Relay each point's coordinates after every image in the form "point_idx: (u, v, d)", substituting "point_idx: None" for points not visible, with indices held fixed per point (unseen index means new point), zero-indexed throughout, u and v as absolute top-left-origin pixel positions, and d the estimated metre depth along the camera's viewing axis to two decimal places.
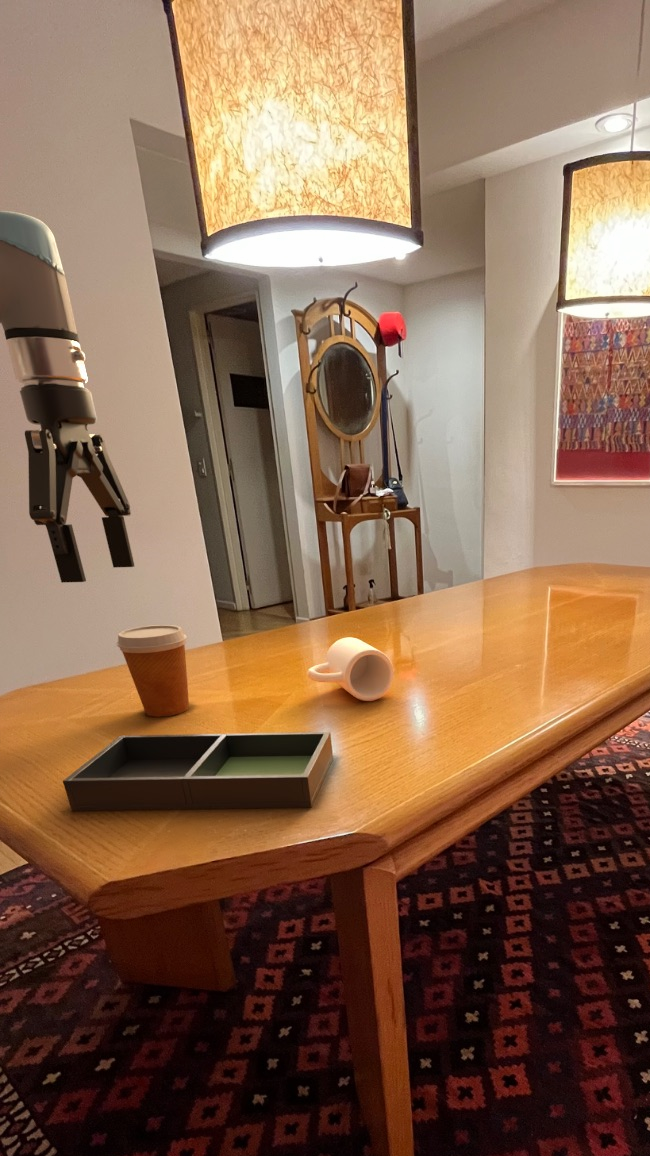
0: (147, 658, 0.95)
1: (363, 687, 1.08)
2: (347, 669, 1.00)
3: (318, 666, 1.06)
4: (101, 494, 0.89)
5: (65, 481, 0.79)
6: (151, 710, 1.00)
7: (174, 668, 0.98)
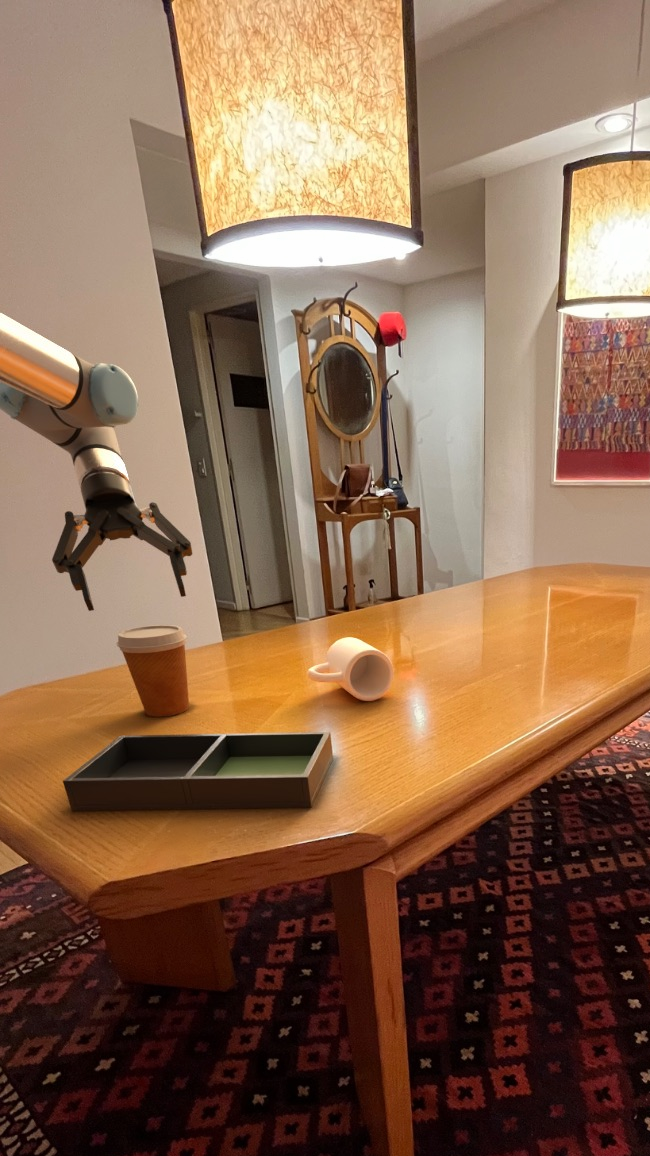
0: (147, 658, 0.95)
1: (363, 686, 1.08)
2: (347, 669, 1.00)
3: (318, 666, 1.06)
4: (87, 552, 1.05)
5: None
6: (151, 710, 1.00)
7: (174, 668, 0.98)
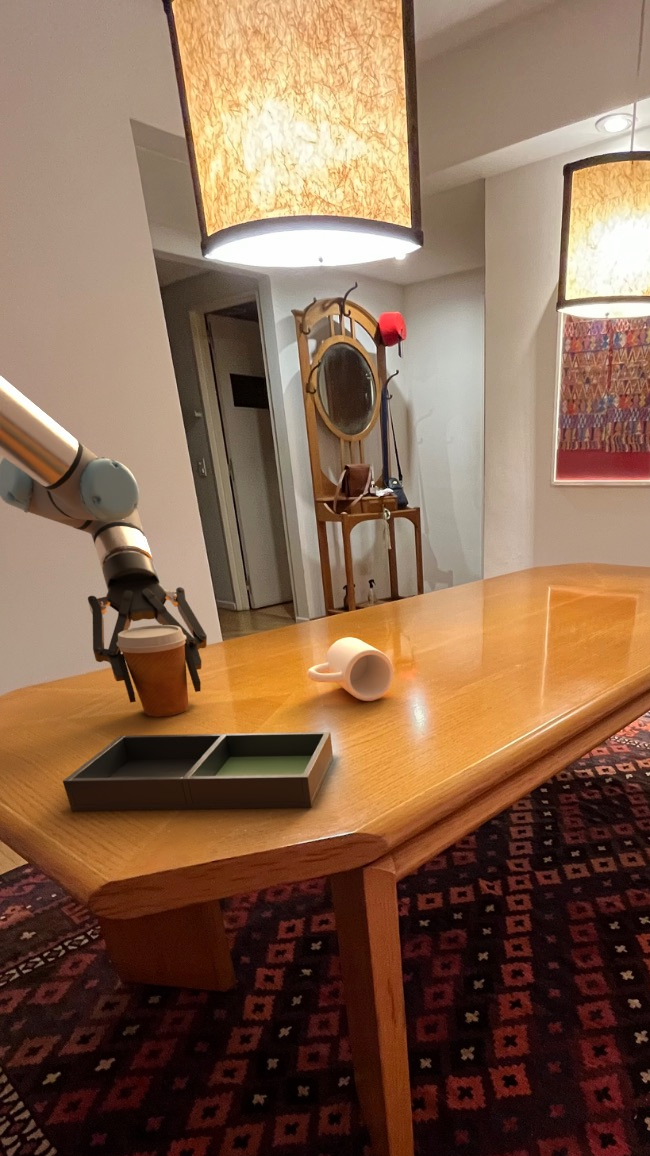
0: (146, 658, 0.95)
1: (363, 687, 1.08)
2: (347, 669, 1.00)
3: (318, 666, 1.06)
4: None
5: None
6: (150, 710, 1.00)
7: (174, 669, 0.98)
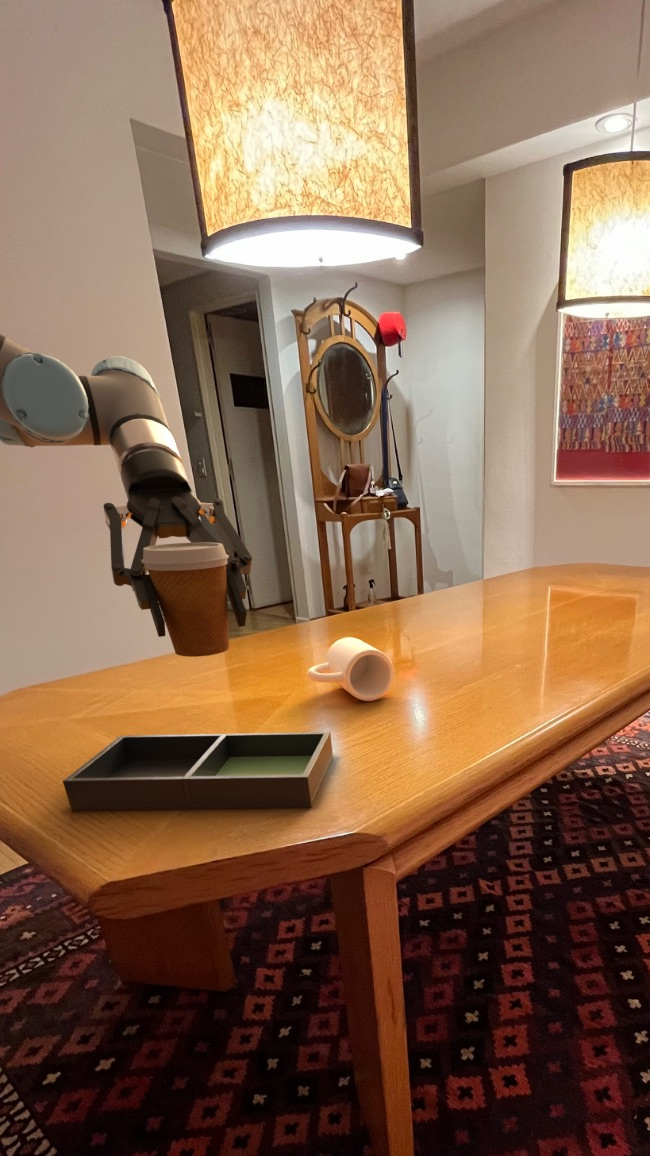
0: (181, 578, 0.74)
1: (363, 686, 1.08)
2: (347, 669, 1.00)
3: (318, 666, 1.06)
4: None
5: None
6: (183, 648, 0.79)
7: (214, 594, 0.77)
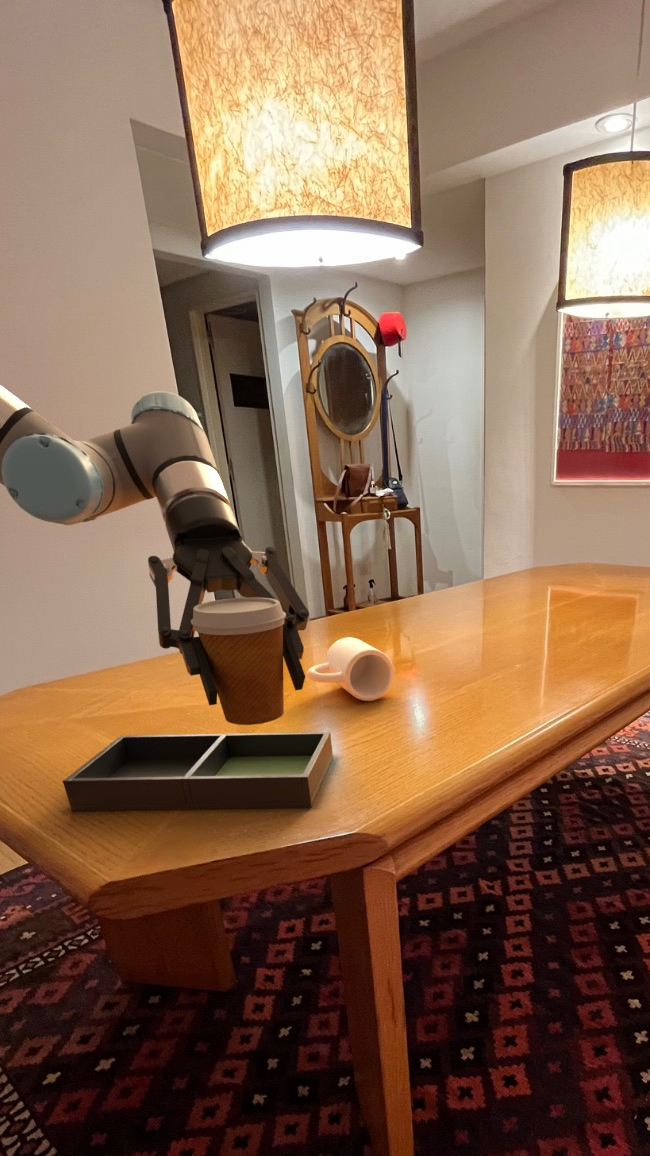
0: (235, 642, 0.67)
1: (363, 687, 1.08)
2: (347, 669, 1.00)
3: (318, 666, 1.06)
4: None
5: None
6: (235, 716, 0.71)
7: (270, 658, 0.69)
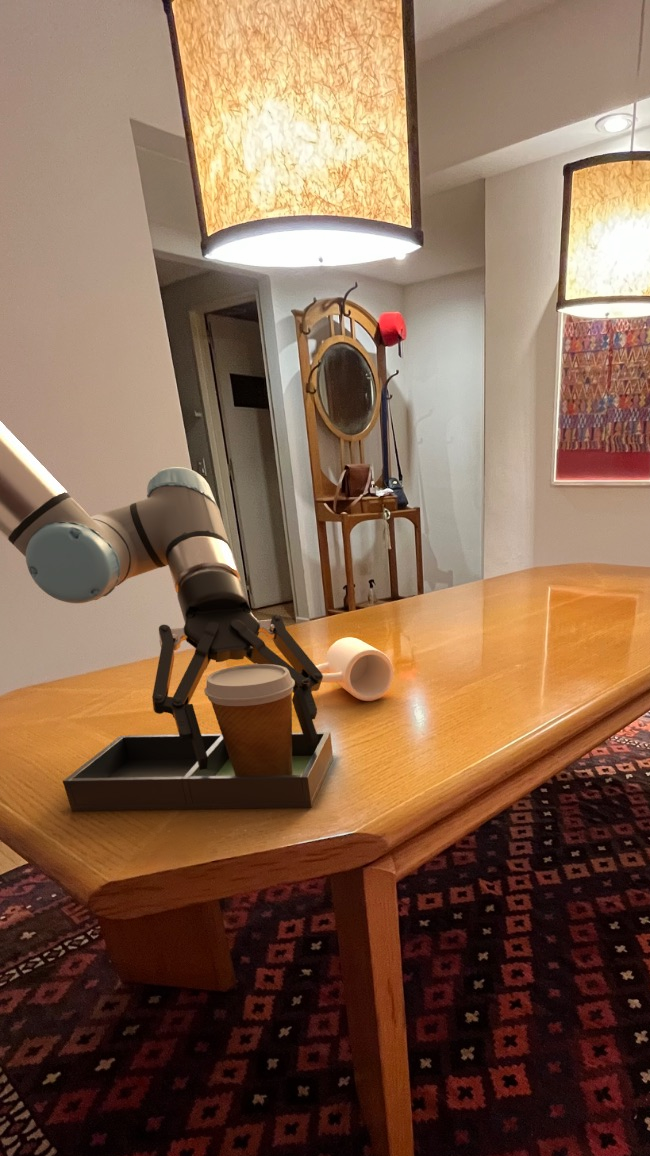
0: (247, 712, 0.70)
1: (363, 686, 1.08)
2: (347, 669, 1.00)
3: (318, 666, 1.06)
4: (195, 683, 0.74)
5: None
6: None
7: (280, 725, 0.73)
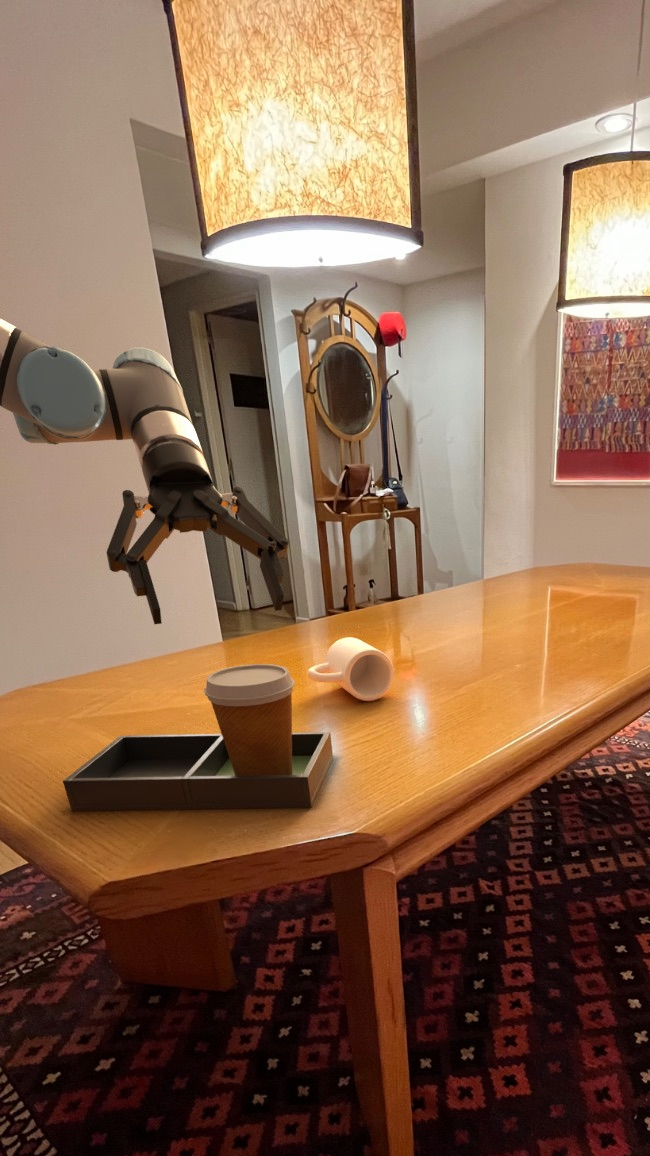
0: (247, 712, 0.70)
1: (363, 686, 1.08)
2: (347, 669, 1.00)
3: (318, 666, 1.06)
4: (152, 546, 0.77)
5: None
6: None
7: (280, 725, 0.73)
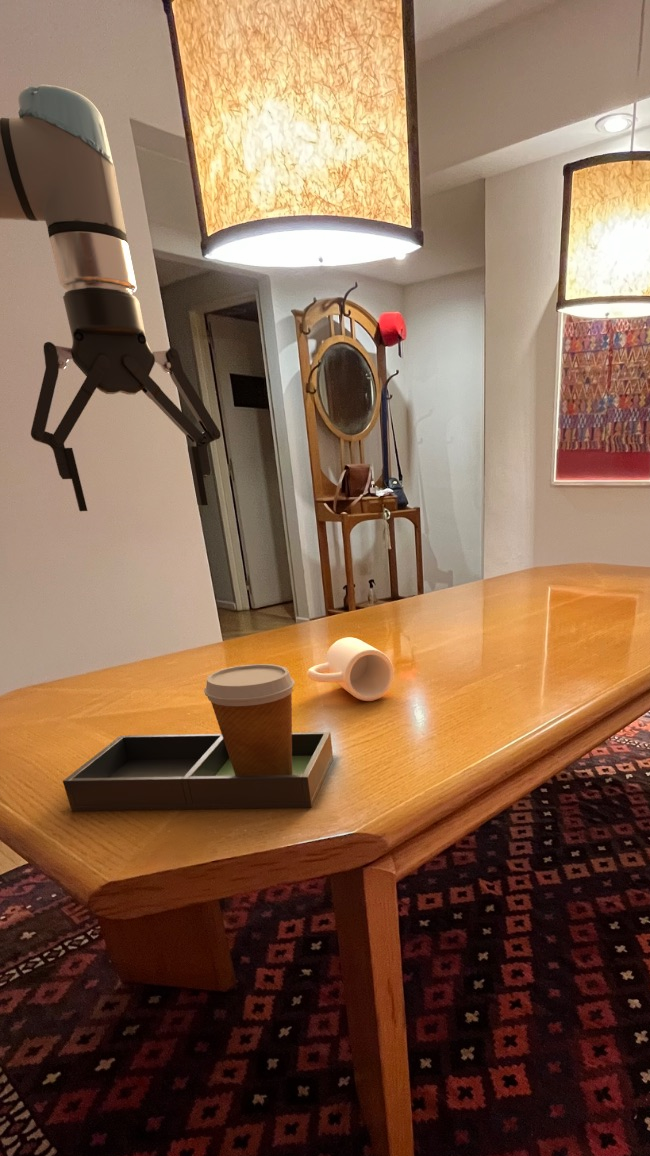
0: (247, 712, 0.70)
1: (363, 686, 1.08)
2: (347, 669, 1.00)
3: (318, 666, 1.06)
4: None
5: None
6: None
7: (280, 725, 0.73)
